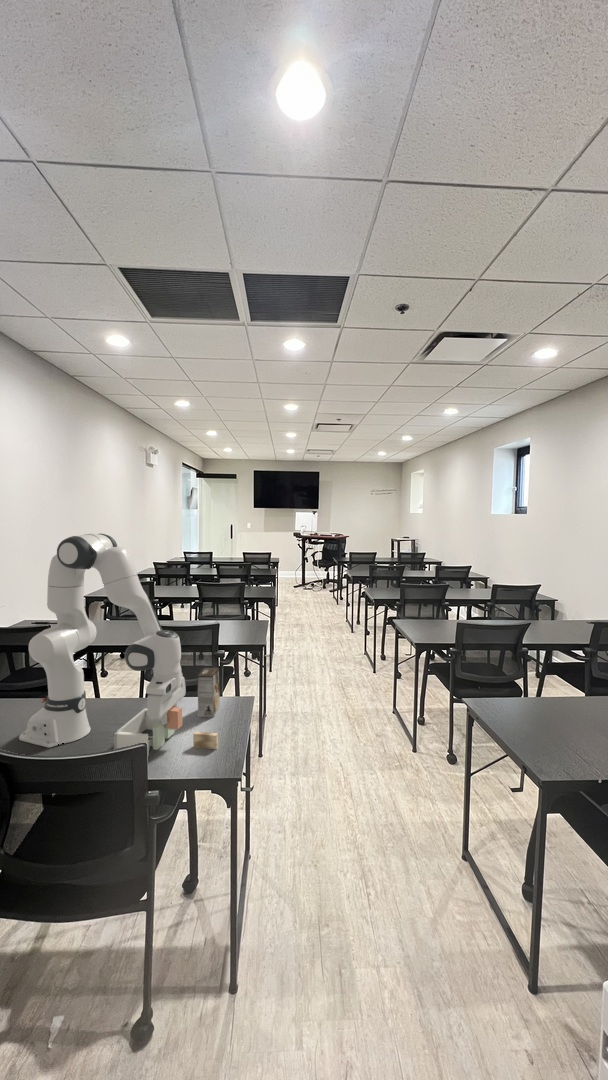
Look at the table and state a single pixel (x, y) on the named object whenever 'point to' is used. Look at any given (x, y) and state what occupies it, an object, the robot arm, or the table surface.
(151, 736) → the soldier figure
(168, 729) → the t-shaped crossbar
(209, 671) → the coffee box
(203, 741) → the tan wooden block
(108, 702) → the table surface
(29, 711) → the table surface
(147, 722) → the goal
